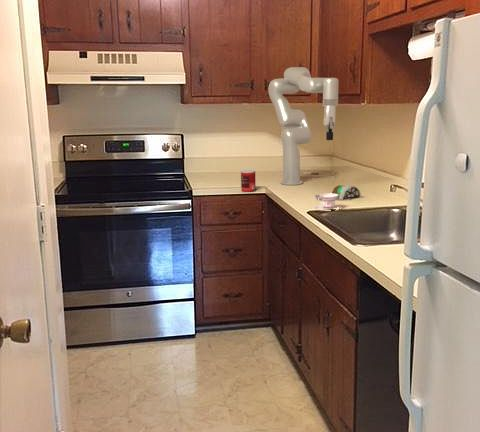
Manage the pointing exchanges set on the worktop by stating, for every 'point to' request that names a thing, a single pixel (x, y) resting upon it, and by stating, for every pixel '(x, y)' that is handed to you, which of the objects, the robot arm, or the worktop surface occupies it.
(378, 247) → the worktop surface
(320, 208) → the teacup
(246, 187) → the canned food
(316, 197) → the mat
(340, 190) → the food container
